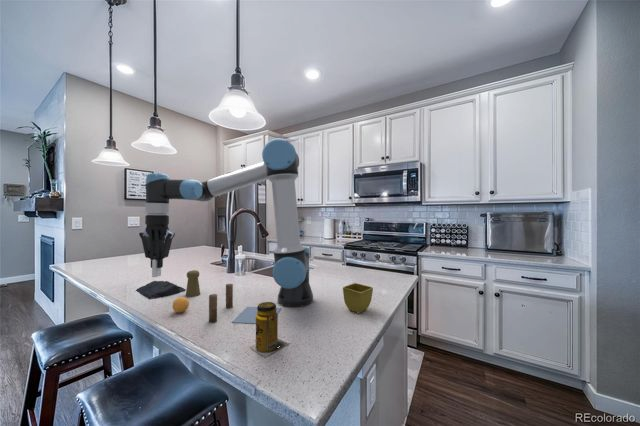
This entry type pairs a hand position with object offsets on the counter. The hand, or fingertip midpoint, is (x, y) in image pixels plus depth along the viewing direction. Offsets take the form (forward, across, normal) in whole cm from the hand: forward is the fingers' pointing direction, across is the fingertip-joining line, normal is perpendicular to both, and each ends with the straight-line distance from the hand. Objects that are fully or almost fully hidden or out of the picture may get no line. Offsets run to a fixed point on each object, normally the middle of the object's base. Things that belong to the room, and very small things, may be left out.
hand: (156, 276), depth 93 cm
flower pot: (+13, -77, -8) cm, 78 cm away
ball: (+10, -10, 0) cm, 14 cm away
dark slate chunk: (+14, +16, -23) cm, 31 cm away
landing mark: (+13, -40, 0) cm, 42 cm away
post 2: (+13, -26, -6) cm, 30 cm away
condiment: (+13, -50, +20) cm, 55 cm away
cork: (+14, -3, -19) cm, 23 cm away
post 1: (+13, -26, +6) cm, 30 cm away
